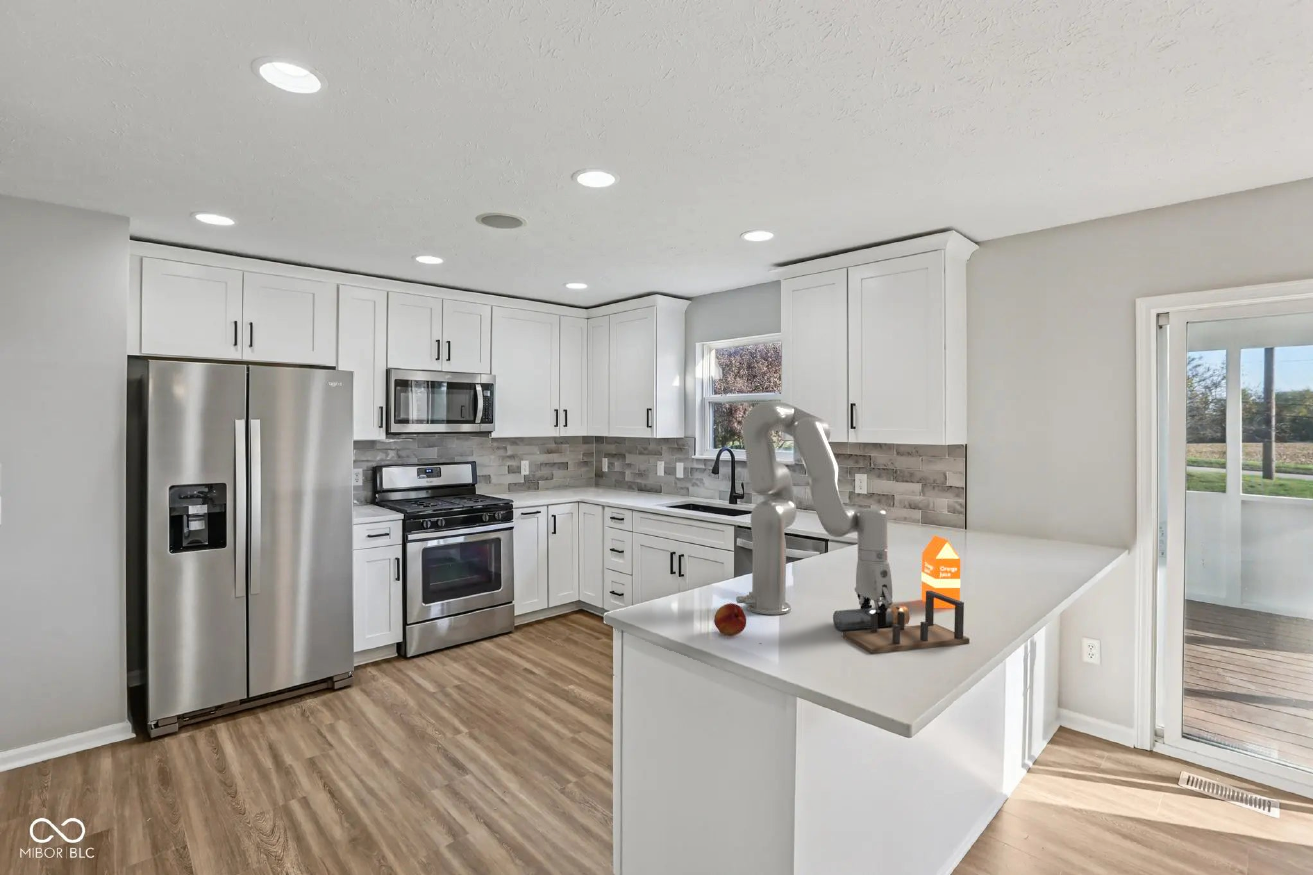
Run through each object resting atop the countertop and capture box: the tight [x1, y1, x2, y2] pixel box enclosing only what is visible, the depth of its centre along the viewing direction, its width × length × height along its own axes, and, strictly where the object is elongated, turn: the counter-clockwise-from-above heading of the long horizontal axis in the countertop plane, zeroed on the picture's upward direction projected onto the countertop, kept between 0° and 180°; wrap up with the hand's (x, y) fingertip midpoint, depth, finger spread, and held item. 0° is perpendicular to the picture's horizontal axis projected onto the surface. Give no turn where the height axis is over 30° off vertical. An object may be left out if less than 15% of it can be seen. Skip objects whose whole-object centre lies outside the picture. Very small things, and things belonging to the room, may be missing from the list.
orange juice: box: [920, 534, 962, 609], centre depth 190 cm, size 8×9×20 cm
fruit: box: [713, 602, 747, 636], centre depth 160 cm, size 8×8×8 cm
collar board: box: [842, 590, 970, 655], centre depth 157 cm, size 28×12×10 cm, turn 107°
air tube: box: [832, 604, 911, 631], centre depth 168 cm, size 20×5×5 cm, turn 106°
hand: (873, 622), depth 168 cm, fingers open, 5 cm apart
